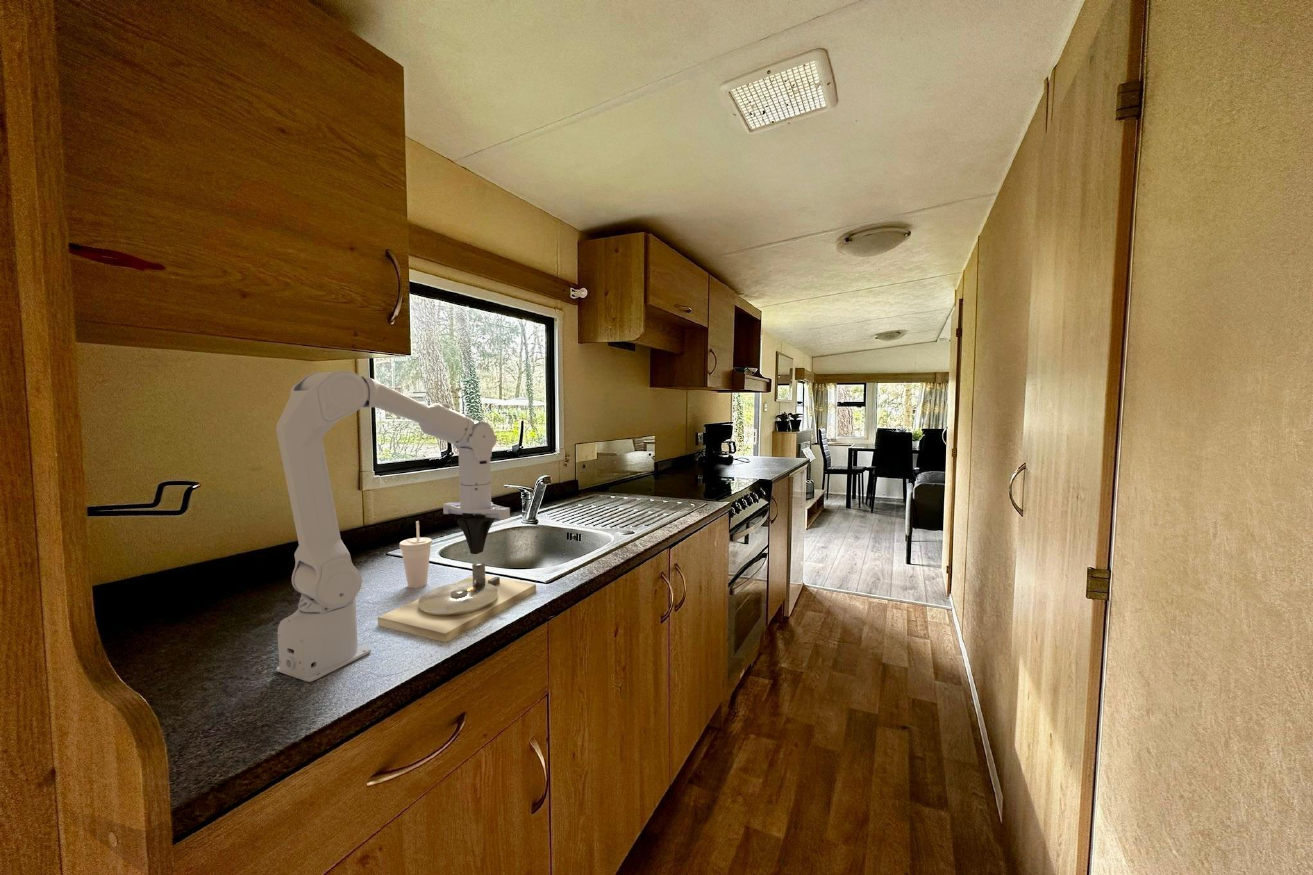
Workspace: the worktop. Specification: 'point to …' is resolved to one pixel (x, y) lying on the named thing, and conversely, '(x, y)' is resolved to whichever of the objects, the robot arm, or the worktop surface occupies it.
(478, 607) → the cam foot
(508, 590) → the stand plate
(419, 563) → the smoothie
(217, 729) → the worktop surface
